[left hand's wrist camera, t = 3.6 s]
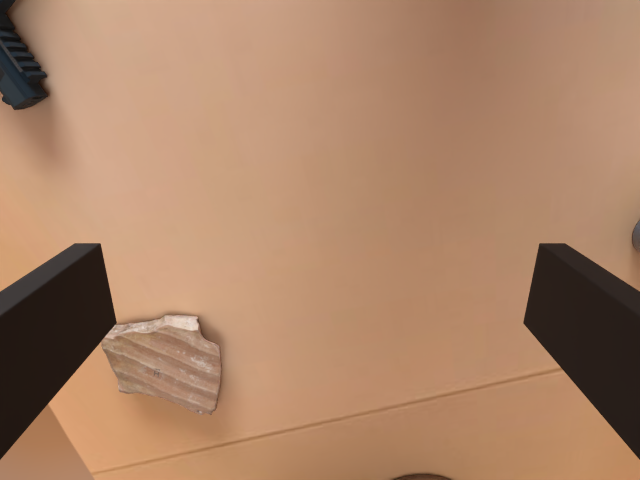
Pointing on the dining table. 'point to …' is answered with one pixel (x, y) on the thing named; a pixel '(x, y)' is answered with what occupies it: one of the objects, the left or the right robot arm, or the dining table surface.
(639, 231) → the grey tall cylinder
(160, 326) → the stone
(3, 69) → the handgun
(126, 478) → the dining table surface
